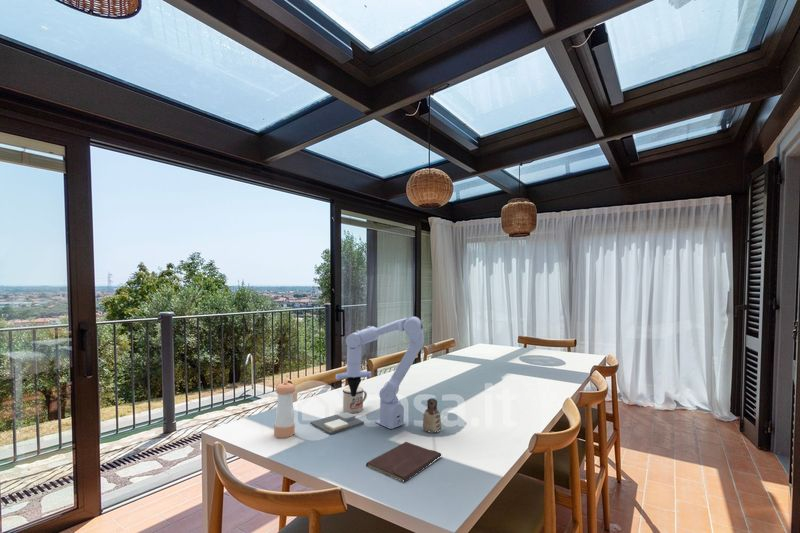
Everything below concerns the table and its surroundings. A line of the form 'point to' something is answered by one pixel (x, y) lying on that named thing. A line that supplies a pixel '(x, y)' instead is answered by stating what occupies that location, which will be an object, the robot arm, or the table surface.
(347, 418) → the slate tile
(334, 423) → the tile
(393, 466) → the notebook
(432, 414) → the figurine
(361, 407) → the teacup with lid
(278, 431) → the pepper shaker
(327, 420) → the mat
